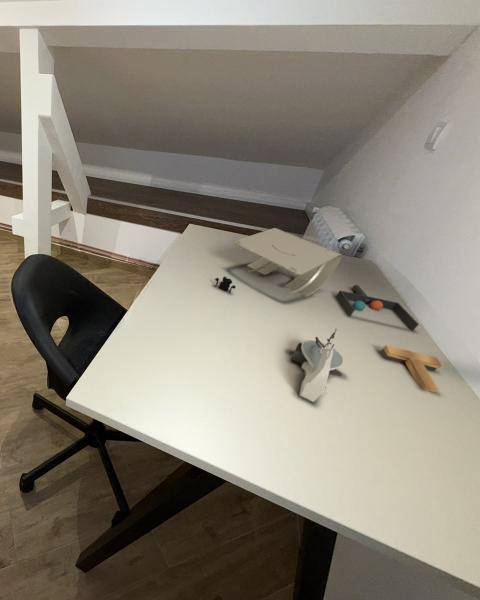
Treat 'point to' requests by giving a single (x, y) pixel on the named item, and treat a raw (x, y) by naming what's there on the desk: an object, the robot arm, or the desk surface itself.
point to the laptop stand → (292, 258)
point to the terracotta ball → (376, 305)
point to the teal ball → (359, 305)
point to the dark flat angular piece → (361, 296)
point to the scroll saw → (316, 366)
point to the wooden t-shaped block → (414, 365)
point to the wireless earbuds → (225, 284)
